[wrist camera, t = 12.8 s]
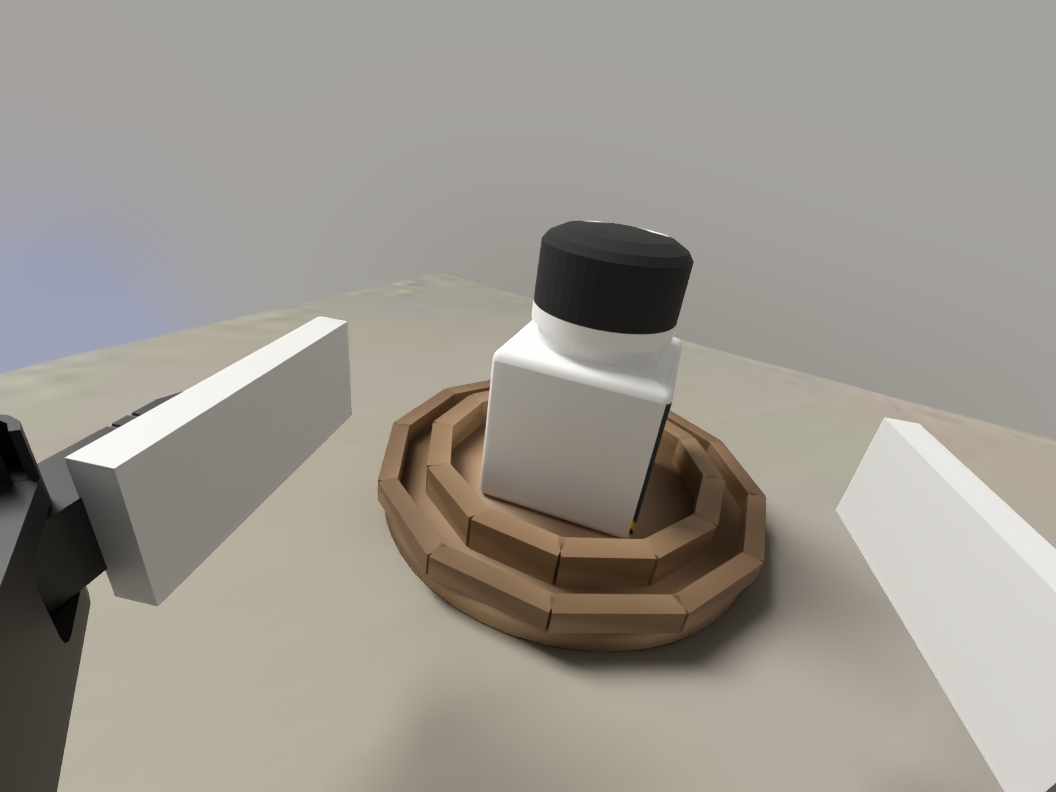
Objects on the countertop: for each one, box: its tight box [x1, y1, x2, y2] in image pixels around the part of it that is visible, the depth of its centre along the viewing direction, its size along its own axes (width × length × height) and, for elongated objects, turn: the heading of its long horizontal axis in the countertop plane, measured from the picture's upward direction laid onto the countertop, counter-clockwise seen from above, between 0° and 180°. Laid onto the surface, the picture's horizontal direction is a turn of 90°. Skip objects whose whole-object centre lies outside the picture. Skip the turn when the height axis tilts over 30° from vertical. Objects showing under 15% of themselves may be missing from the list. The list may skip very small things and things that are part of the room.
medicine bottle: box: [480, 221, 693, 539], centre depth 22 cm, size 7×7×12 cm
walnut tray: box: [378, 380, 766, 652], centre depth 25 cm, size 18×18×2 cm
